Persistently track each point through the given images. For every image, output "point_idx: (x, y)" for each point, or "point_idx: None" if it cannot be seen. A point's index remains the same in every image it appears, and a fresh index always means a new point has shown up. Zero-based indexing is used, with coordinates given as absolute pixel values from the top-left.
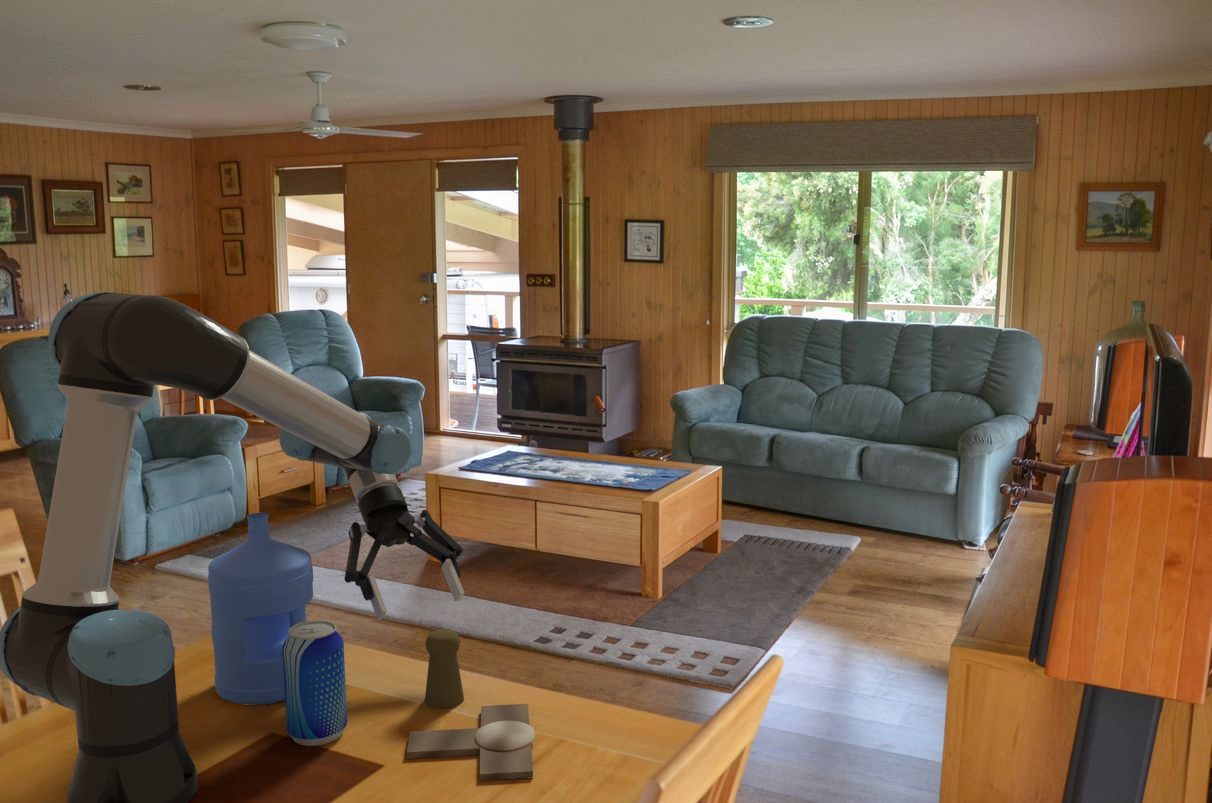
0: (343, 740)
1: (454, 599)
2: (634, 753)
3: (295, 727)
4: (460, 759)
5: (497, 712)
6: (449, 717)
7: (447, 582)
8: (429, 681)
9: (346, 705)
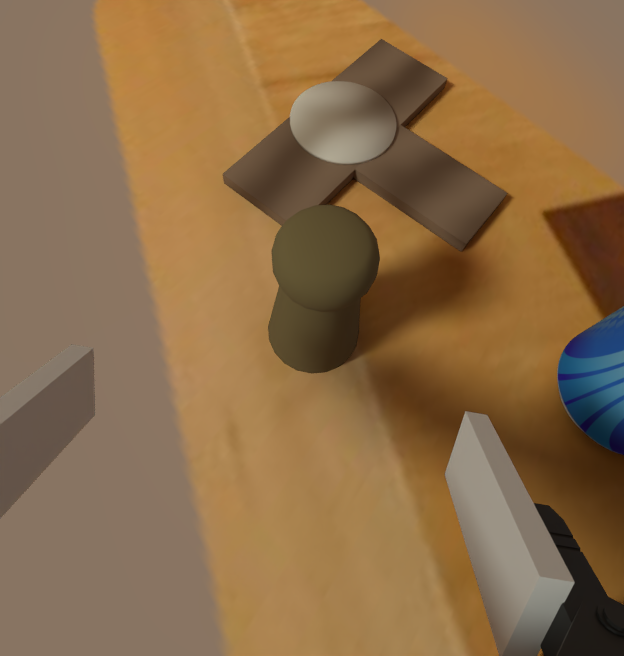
0: (571, 334)
1: (89, 419)
2: (222, 3)
3: None
4: None
5: (291, 187)
6: None
7: (33, 480)
8: (359, 311)
9: (585, 339)
